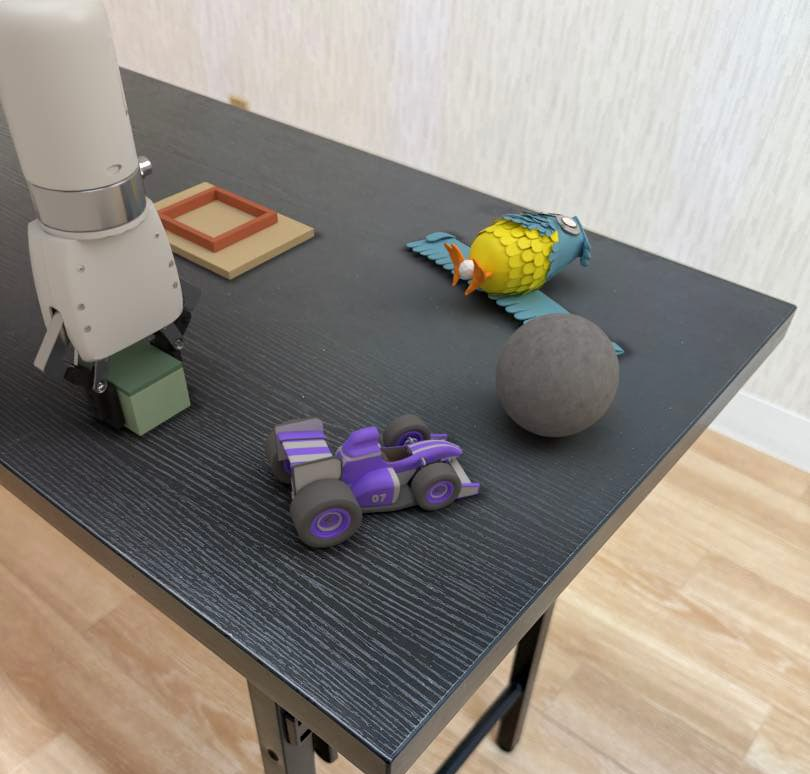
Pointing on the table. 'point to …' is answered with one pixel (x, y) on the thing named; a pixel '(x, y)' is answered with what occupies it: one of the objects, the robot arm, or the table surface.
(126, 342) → the robot arm
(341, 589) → the table surface
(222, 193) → the wooden board with frame
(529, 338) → the decorative ball
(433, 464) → the toy race car
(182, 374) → the green lidded box
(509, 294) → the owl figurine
